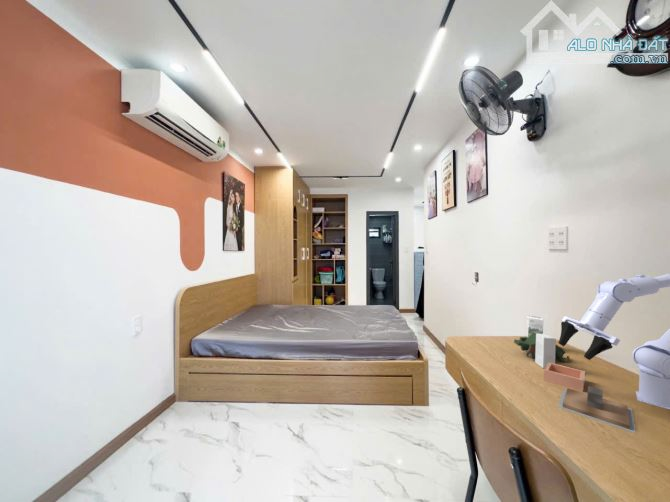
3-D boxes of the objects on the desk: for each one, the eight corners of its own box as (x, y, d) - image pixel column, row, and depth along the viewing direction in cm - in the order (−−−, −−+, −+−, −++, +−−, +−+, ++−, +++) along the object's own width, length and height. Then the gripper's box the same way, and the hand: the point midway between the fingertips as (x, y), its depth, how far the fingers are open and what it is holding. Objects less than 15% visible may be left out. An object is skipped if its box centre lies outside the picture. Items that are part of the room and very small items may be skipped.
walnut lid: (627, 409, 77) (627, 391, 77) (629, 429, 68) (630, 409, 68) (567, 391, 86) (567, 375, 86) (562, 407, 77) (562, 389, 77)
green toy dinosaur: (557, 378, 107) (579, 358, 106) (516, 344, 113) (536, 325, 112) (545, 370, 118) (565, 352, 117) (508, 340, 124) (526, 322, 123)
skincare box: (555, 369, 103) (556, 338, 103) (542, 368, 104) (543, 337, 104) (546, 363, 109) (547, 334, 109) (534, 362, 110) (535, 333, 110)
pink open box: (584, 382, 93) (585, 371, 93) (582, 392, 86) (583, 380, 86) (548, 372, 100) (548, 362, 100) (543, 381, 93) (544, 370, 93)
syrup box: (541, 346, 129) (541, 316, 129) (542, 350, 124) (543, 319, 124) (526, 344, 132) (527, 314, 132) (527, 347, 127) (528, 317, 127)
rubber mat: (632, 410, 77) (632, 409, 77) (635, 434, 66) (635, 433, 66) (563, 390, 88) (563, 388, 88) (557, 408, 77) (557, 406, 77)
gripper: (567, 301, 89) (543, 334, 90) (620, 320, 76) (592, 360, 76) (578, 310, 91) (555, 342, 92) (633, 330, 78) (605, 369, 78)
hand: (573, 351), depth 84 cm, fingers open, 7 cm apart
